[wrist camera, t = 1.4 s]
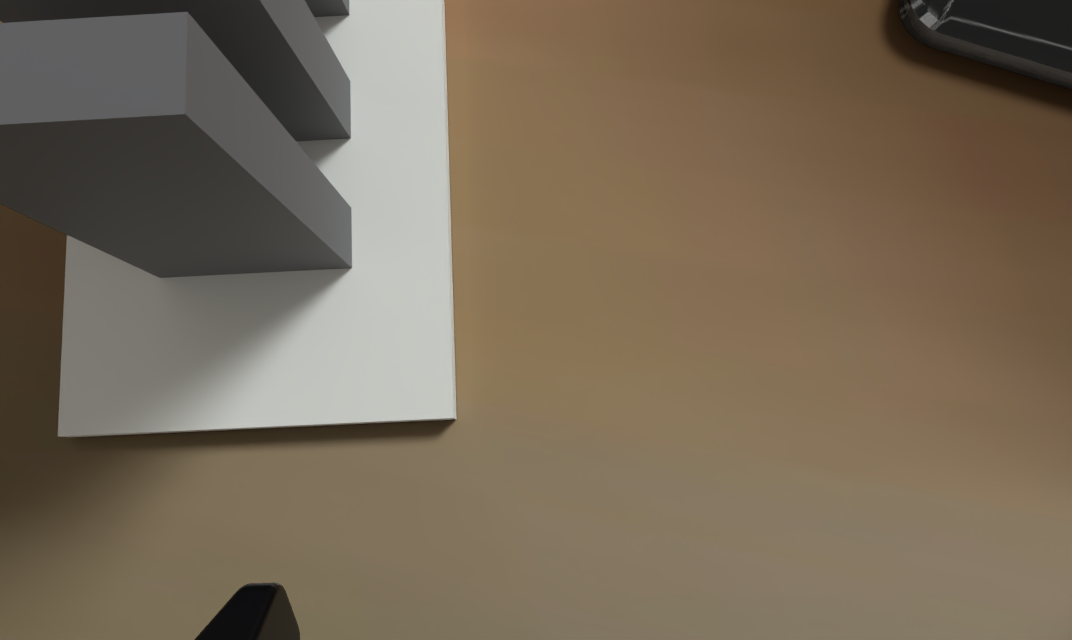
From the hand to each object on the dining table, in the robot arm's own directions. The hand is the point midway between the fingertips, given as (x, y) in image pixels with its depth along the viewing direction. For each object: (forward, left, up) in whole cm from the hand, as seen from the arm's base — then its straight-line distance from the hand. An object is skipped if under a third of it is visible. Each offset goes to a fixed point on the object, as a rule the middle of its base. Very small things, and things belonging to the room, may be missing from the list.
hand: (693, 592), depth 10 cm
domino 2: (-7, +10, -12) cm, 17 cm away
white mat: (-6, +15, -13) cm, 20 cm away
